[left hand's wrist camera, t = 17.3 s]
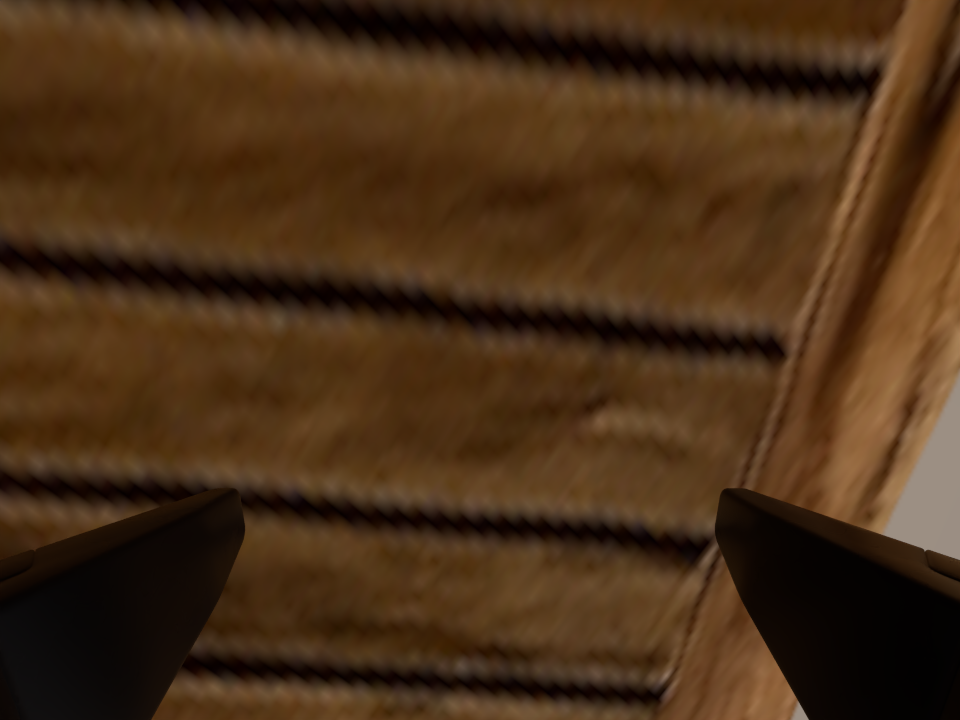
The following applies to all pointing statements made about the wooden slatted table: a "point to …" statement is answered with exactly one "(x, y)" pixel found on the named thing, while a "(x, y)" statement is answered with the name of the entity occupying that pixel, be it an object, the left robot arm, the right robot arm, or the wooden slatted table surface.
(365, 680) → the wooden slatted table surface
